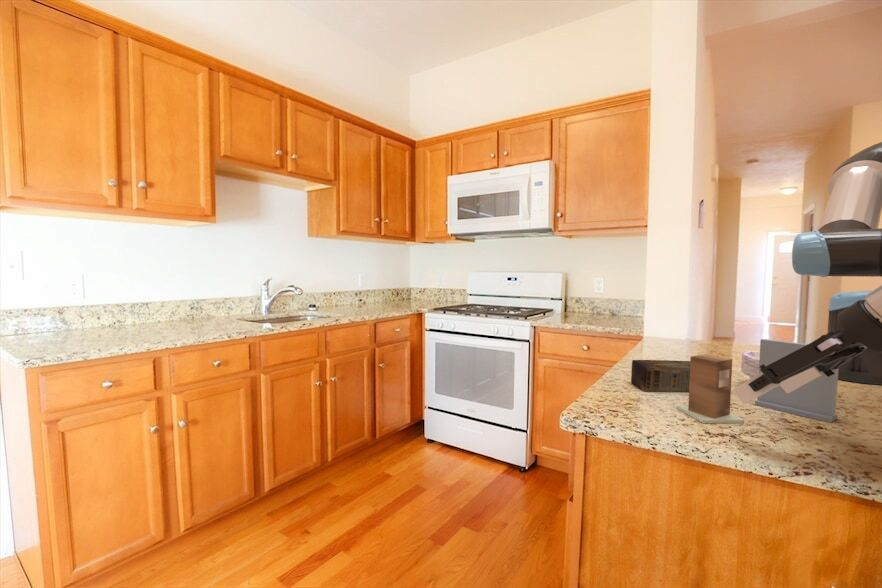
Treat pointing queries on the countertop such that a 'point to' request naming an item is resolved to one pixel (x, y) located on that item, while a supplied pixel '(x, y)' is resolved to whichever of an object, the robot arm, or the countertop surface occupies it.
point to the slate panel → (805, 400)
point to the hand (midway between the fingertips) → (761, 391)
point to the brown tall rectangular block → (710, 385)
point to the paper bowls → (750, 363)
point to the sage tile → (705, 419)
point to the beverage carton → (661, 375)
